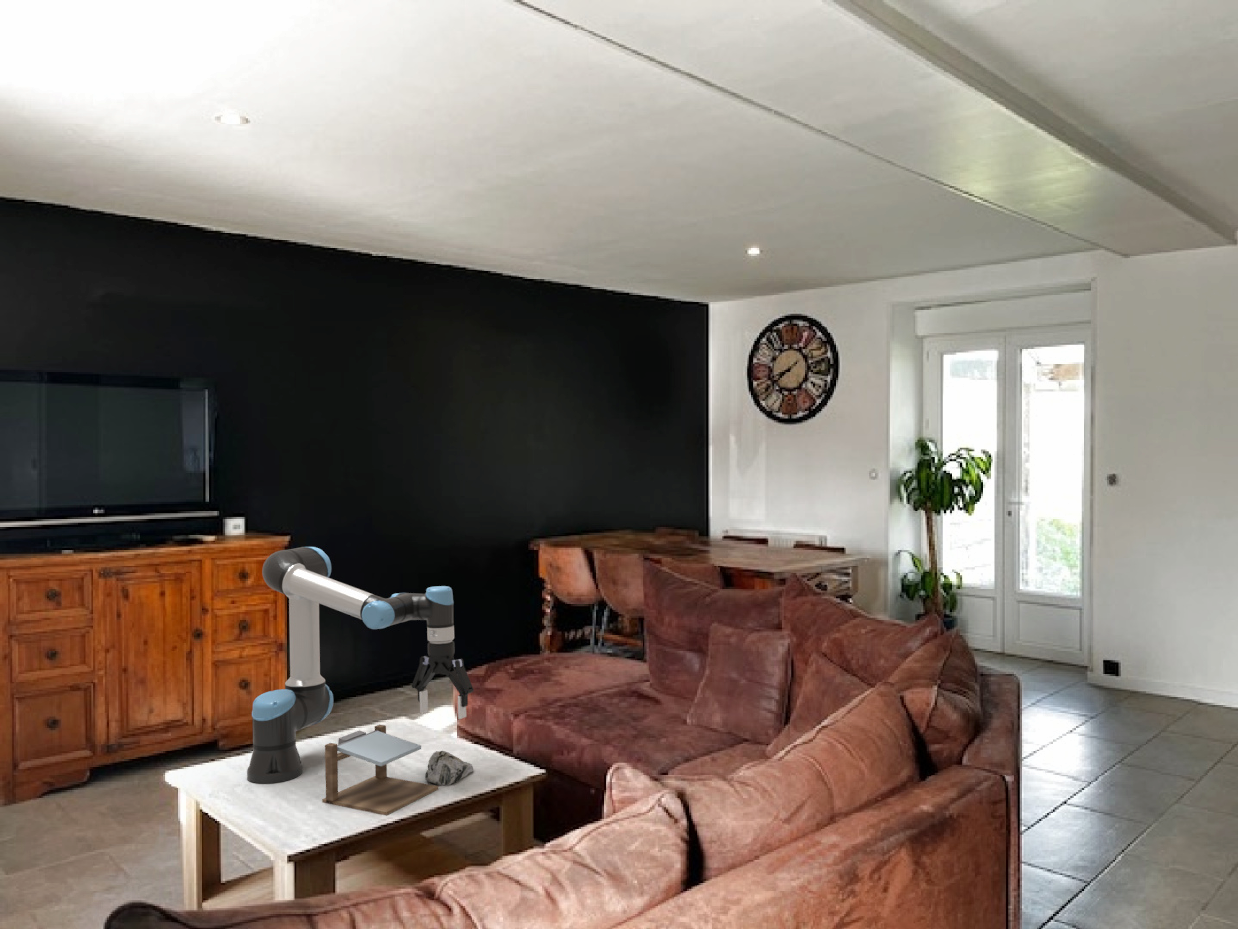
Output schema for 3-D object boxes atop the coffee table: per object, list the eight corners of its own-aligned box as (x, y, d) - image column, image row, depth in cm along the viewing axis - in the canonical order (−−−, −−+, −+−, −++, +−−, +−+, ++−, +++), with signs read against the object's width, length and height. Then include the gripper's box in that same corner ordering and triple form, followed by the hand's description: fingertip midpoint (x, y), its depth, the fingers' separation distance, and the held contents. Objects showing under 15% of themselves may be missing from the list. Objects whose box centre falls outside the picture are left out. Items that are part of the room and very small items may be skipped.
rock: (450, 787, 258) (450, 761, 258) (418, 783, 261) (418, 758, 261) (476, 772, 272) (476, 747, 272) (445, 768, 275) (445, 744, 275)
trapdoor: (326, 749, 250) (327, 742, 250) (369, 732, 265) (370, 726, 265) (380, 768, 241) (380, 761, 241) (421, 750, 256) (422, 743, 256)
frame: (321, 802, 248) (320, 744, 248) (375, 777, 267) (374, 724, 267) (386, 815, 238) (385, 755, 238) (438, 789, 256) (437, 733, 256)
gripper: (398, 640, 269) (400, 714, 268) (468, 646, 257) (470, 723, 257) (415, 636, 275) (417, 708, 275) (484, 641, 264) (486, 716, 264)
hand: (443, 715), depth 266 cm, fingers open, 13 cm apart
